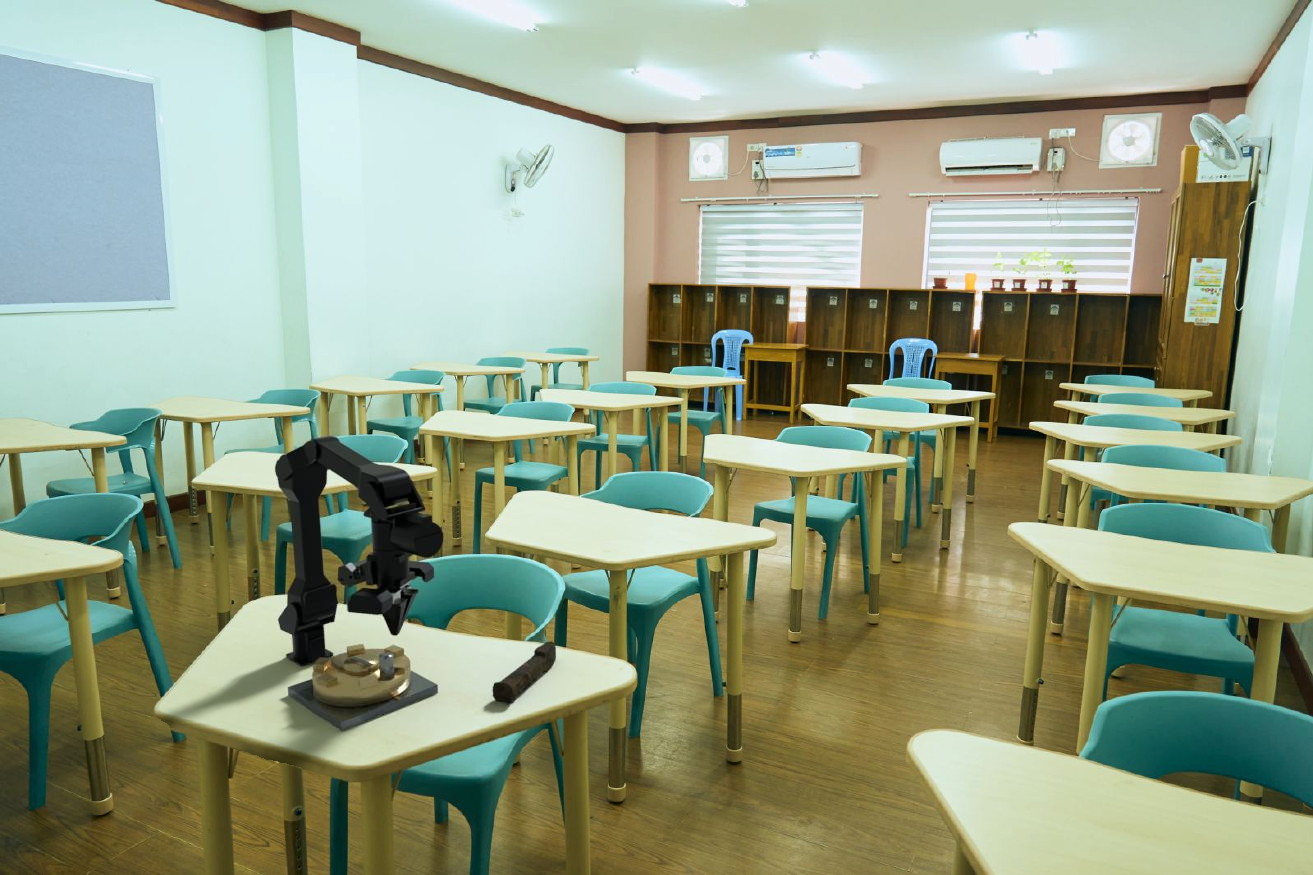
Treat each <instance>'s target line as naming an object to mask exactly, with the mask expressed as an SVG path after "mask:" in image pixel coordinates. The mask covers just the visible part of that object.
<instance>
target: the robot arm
mask: <svg viewBox="0 0 1313 875" xmlns="http://www.w3.org/2000/svg"><path fill="white" fill-rule="evenodd" d="M328 471H331V472H333V473H334V474H335V475H337V476H339V477H340V478H342V479H343V480H345V481H346V482H348V483H349V484H351V485H353V486H354V487H355V488H356V489H357V497H358V498H359V499H360V500H361V501H362V502H364V504H366V505H367V506H368V508H367V509H366V510H365V511H364V512H363V517H365V518H369V519H370V525H371V526H370V527H371V543H372V544H371V545H372V551H371V552H370V553H368V554H367V555H366V558H365V559H362V560H358V561H356V562H348V563H347V564H342V565H339V567H338V568H337V581H338V583H339V584H340V585H342V586H345V587H346V588H347V589H349V588H353V586H356V585H358V584H363V583H365V586H371V587H373V586H376V588H371V587H369V588H368V587H361V588H360V589H358V590H356V591H355V592H353V593H352V594H351V595H349V597H347V599H346V610H347V612H348V613H353V614H363V615H364V614H365V615H373V616H379V615H382V618H383V619H384V621H385V623H386V626H387V629H388V631H389V634H390V635H391V636H393V637H394V636H398V635H399V634H400V632H401V630H402V628H403V626H404V623H405V621H406V618H407V616H408V614H409V612H410V609H411V608H412V606H413V603H414V601H415V599H416V598H417V597H416V596H417V595H418V594H419V589H417V588H416V589H415V588H412V585H411V584H410V583H411V582H412V581H414V580H416V579H417V578H419V577H420V578H421V580H422V581H423V582H424V583H428V582H429V583H430V581H432V580H433V579H434V578H435V568H434V566H433V565H432V564H431V563H430V562H429V561H418V560H417V561H416V560H410V558H411V557H412V556H416V557H417V556H418V557H420V558H424V559H429V558H432V557H434V556H435V555H436V554H438V552H439V551H440V549H442V546H443V542H444V531H442V530H443V529H442V528H441V527H440V525H439V524H438V523H436V522H433V515H432V514H429V513H422V512H425V511H426V507H425V504H424V503H423V501H424V499H423V498H422V497H421V495H420V493H419V492H418V490H417V488H416V485H415V484H414V482H413V480H412V478H411V476H410V475H409V473H408V471H407V470H405V469H403V468H400V467H396V466H394V465H389V464H388V465H387V464H377V463H375V462H374V461H372V460H370V459H368V458H367V457H365V456H363V455H362V454H360V453H358V452H357V451H355V450H353V449H352V448H351V447H349V446H347V445H345V444H343V443H342V442H341V441H340V439H339V438H338V437H336V436H332V435H327V436H321V437H315V438H311V439H309V440H308V441H307V440H306V442H305V443H304V444H303V445H301V446H299V447H297V448H294V449H293V450H291V451H288V452H287V453H285V454H282V455H280V456H279V458H278V459H277V460H276V462H275V465H274V472H275V473H274V474H275V475H276V478H277V484H278V487H279V489H280V491H281V492H282V493H283V494H284V495H285V497H286V498H287V499H288V500H289V508H290V510H289V511H290V520H291V521H290V522H291V534H292V535H291V536H292V548H293V558H294V560H293V562H294V571H295V572H294V573H295V575H294V576H295V577H294V579H293V581H292V582H291V585H290V586H289V588H288V590H287V596H286V603H287V604H286V606H285V608H284V609H283V611H282V612H281V614H280V615H279V617H278V618H277V621H278V626H279V629H280V630H281V631H283V632H285V633H286V634H289V635H291V641H292V642H291V643H292V651H291V652H288V653H286V654H285V657H286V658H287V659H288V660H290V661H292V662H293V663H295V664H297V665H298V666H300V667H304V666H308V665H310V664H314V663H315V662H316V661H317V660H318V659H319V658H331V657H333V656H334V653H333V652H332V651H330V650H328V648H326V636H325V626H326V625H327V624H333V623H335V620H336V616H337V615H336V614H337V610H338V605H339V601H338V596H337V595H338V590H337V589H338V587H337V585H336V584H335V583H332V582H331V581H330V580H329V579H328V577H327V576H326V575H325V568H324V555H323V554H324V552H323V541H322V538H323V537H322V528H321V527H322V526H321V514H320V513H321V512H320V510H321V509H320V497H321V495H322V493H323V492H324V490H325V488H326V486H327V484H328ZM407 502H408V503H407ZM396 505H398V506H396Z"/></svg>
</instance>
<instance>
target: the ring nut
mask: <svg viewBox="0 0 1313 875" xmlns="http://www.w3.org/2000/svg"><path fill="white" fill-rule="evenodd" d="M312 670H313V671H312V674H311V677H312V678H311V679H312V680H313V694H314V696H315V697H316V699H318V700H319V701H321V702H323V703H326V704H329V705H334V706H343V707H352V706H363V705H369V704H374V703H378V702H381V701H385V700H387V699H390V698H392V697H394V696H396V695H398V694H400V693H401V692H403V691H404V690H405V689H406V688H407V687H408V686H409V684H410V682H411V671H412V670H411V660H410V658H409V657H408V656H407V655H406V654H405V648H404V647H400V646H397V645H395V644H392V645H390V646H387V647H385V648H366V647H365V645H364V643H360V644H354V645H353V644H352V645H348V646H346V652H343V653H339V654H336V655H333V656H332V657H329V658H319V659H318V660H317V661H316V662H314V663H312Z"/></svg>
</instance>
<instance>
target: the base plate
mask: <svg viewBox="0 0 1313 875" xmlns="http://www.w3.org/2000/svg"><path fill="white" fill-rule="evenodd" d="M438 693H439V685H438V684H437V683H436V682H433V681H431V680H430V679H427V678H426V677H424V676H422V675H420V674H418V673H417V672H415V671H413V670H411V682H410V684H409V686H408V687H407V688H406V689H405V690H404V691H403V692H401V693H400V694H398V695H396V696H394V697H392V698H390V699H387V700H385V701H381V702H378V703H374V704H369V705H363V706H352V707H343V706H334V705H329V704H326V703H323V702H321V701H319V700H318V699H316V697H315V696H314V694H313V680H312V678H310V679H308V680H305V681H302V682H299V683H296V684H293V685H290V686H287V695H288V696H289V697H290V698H292V699H293V700H294V701H296V702H298V703H299V704H300V705H302V706H304V707H305V708H306V709H308V710H310V711H311V712H313V713H314V714H315V715H317V716H319V717H320V718H321V719H323V720H324V721H325V722H327V723H329V724H330V725H332V726H333V727H335V728H336V729H337V730H339V731H340V732H343V731H346V730H349V729H351V728H353V727H356V726H359V725H362V724H363V723H366V722H369V721H371V720H374V719H377V718H379V717H381V716H384V715H386V714H388V713H392V712H393V711H396V710H398V709H401V708H403V707H406V706H409V705H411V704H414V703H415V702H419V701H421V700H423V699H425V698H428V697H429V698H430V697H431V696H433V695H435V694H438Z"/></svg>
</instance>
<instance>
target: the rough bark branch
mask: <svg viewBox="0 0 1313 875" xmlns="http://www.w3.org/2000/svg"><path fill="white" fill-rule="evenodd" d="M533 652H534V654H533V655H532V656H531V658H528V660H527V661H525V662H524V663H523V664H521V665H520V666H519V667H518V668H516V669H514V671H512V672H511V673H509V674H508V675H507V676H506V677H504V678H503V679H502V680H500V681H496V682H495V681H494V683H493V686H492V697H493V699H494V701H495V702H498V703H501V704H511V703H512V702H513V700H515V699H516V697H517V695H518V694H519V693H520V692H522V691H523V690H524V689H525V688H526V687H527V686H528V685H530V684H531V683H532V682H533V681H535V680H536V679H537V678H538V677H539V676H540V675H542V674H545V673H548V672H549V671H550V670H551V669H552V668H553V666H554V665H555V662H556V660H557V649H556V643H555V642H553V641H552V640H551V641H546V642H544V643H543V644H541V645H540V646H537V647H536V648H535V649H534V651H533Z"/></svg>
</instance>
